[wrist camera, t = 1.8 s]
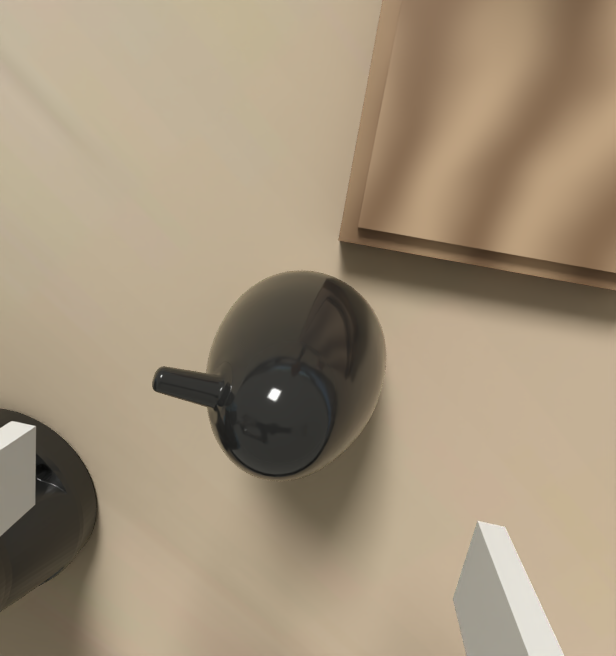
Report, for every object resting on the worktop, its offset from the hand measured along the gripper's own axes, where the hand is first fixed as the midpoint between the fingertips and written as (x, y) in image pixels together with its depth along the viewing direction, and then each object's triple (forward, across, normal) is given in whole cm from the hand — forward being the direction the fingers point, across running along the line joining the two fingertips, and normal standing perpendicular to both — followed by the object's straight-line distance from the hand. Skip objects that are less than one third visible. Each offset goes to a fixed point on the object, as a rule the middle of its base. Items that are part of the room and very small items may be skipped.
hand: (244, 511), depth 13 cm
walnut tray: (+19, +10, +16) cm, 27 cm away
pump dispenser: (+19, 0, 0) cm, 19 cm away
